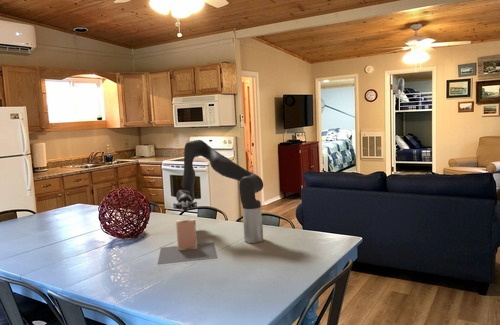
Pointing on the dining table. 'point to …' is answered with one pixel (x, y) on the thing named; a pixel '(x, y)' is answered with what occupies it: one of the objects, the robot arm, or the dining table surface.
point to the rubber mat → (187, 254)
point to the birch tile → (186, 234)
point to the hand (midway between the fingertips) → (185, 208)
